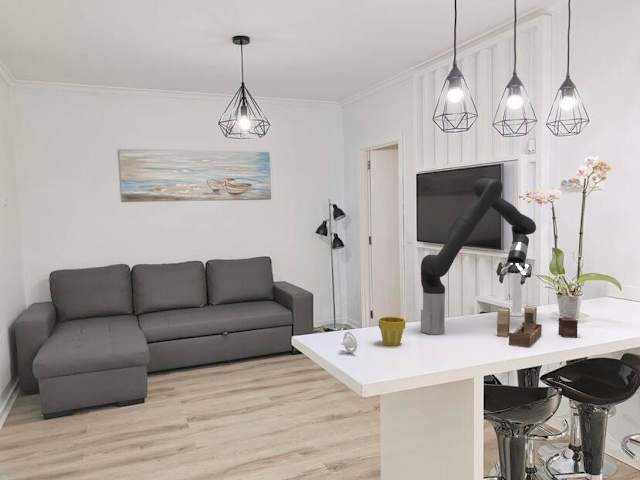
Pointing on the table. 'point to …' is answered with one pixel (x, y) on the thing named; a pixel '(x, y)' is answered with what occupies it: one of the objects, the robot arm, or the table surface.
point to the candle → (516, 295)
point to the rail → (524, 336)
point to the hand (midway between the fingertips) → (511, 283)
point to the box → (568, 327)
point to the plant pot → (391, 330)
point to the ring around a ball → (350, 342)
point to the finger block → (503, 322)
